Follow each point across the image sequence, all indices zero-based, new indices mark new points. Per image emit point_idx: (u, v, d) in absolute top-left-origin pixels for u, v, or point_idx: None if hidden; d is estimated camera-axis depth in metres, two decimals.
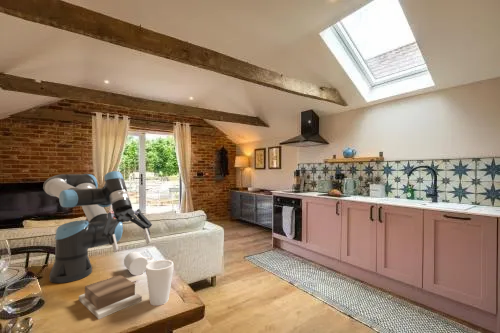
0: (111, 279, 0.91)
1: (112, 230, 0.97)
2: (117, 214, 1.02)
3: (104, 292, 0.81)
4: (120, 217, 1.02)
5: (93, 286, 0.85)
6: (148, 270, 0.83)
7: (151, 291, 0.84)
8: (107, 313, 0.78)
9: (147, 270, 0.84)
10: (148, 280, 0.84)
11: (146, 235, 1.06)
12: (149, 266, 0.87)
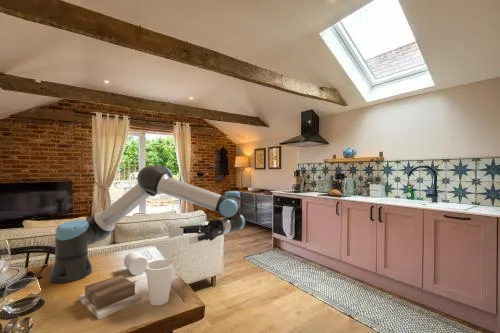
0: (111, 279, 0.91)
1: None
2: None
3: (104, 292, 0.81)
4: None
5: (93, 286, 0.85)
6: (148, 270, 0.83)
7: (151, 291, 0.84)
8: (107, 313, 0.78)
9: (147, 270, 0.84)
10: (148, 280, 0.84)
11: (177, 234, 1.00)
12: (149, 266, 0.87)
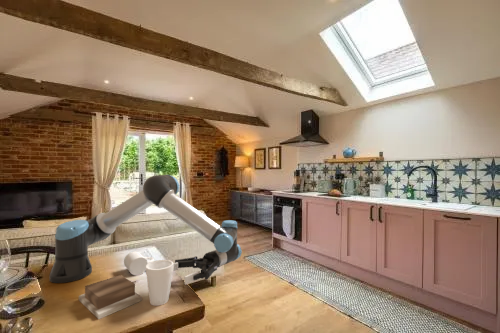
0: (111, 279, 0.91)
1: None
2: None
3: (104, 292, 0.81)
4: None
5: (93, 286, 0.85)
6: (148, 270, 0.83)
7: (151, 291, 0.84)
8: (107, 313, 0.78)
9: (147, 270, 0.84)
10: (148, 280, 0.84)
11: None
12: (149, 266, 0.87)
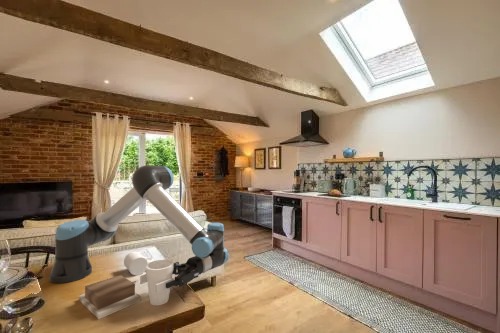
0: (111, 279, 0.91)
1: None
2: None
3: (104, 292, 0.81)
4: None
5: (93, 286, 0.85)
6: (148, 270, 0.83)
7: (151, 291, 0.84)
8: (107, 313, 0.78)
9: (147, 270, 0.84)
10: (148, 280, 0.84)
11: None
12: (149, 266, 0.87)
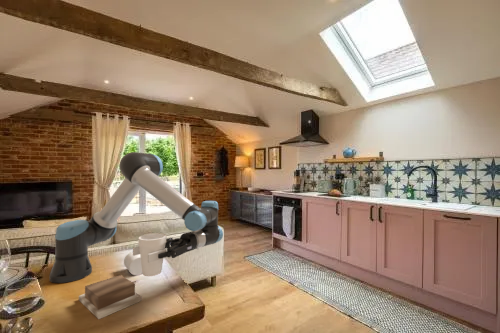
0: (111, 279, 0.91)
1: None
2: None
3: (104, 292, 0.81)
4: None
5: (93, 286, 0.85)
6: (140, 241, 0.83)
7: (143, 262, 0.83)
8: (107, 313, 0.78)
9: (139, 241, 0.83)
10: (140, 251, 0.84)
11: None
12: (142, 238, 0.87)
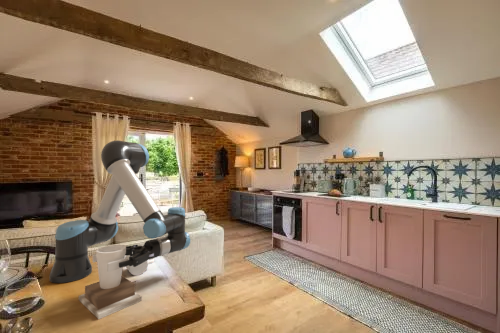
0: None
1: None
2: None
3: (104, 292, 0.81)
4: None
5: (93, 286, 0.85)
6: (97, 253, 0.83)
7: (100, 274, 0.84)
8: (107, 313, 0.78)
9: (96, 253, 0.84)
10: (98, 263, 0.84)
11: None
12: (101, 250, 0.88)
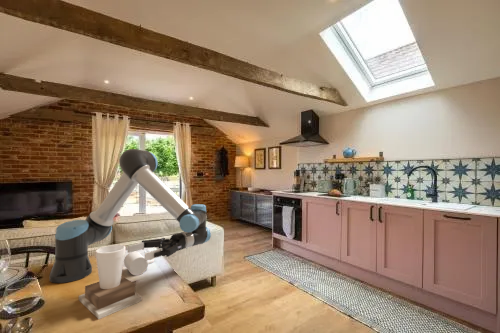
0: None
1: None
2: None
3: (104, 292, 0.81)
4: None
5: (93, 286, 0.85)
6: (97, 253, 0.83)
7: (100, 274, 0.84)
8: (107, 313, 0.78)
9: (96, 253, 0.84)
10: (97, 263, 0.84)
11: (136, 248, 1.01)
12: (100, 250, 0.88)
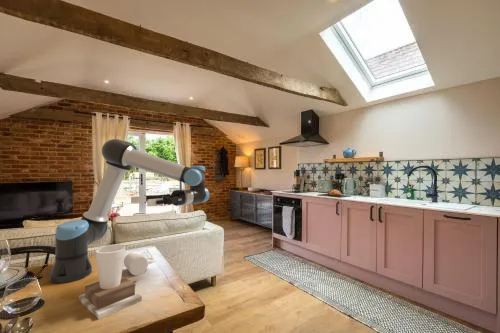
0: None
1: None
2: None
3: (104, 292, 0.81)
4: None
5: (93, 286, 0.85)
6: (97, 253, 0.83)
7: (100, 274, 0.84)
8: (107, 313, 0.78)
9: (96, 253, 0.84)
10: (97, 263, 0.84)
11: (139, 200, 1.07)
12: (100, 250, 0.88)
